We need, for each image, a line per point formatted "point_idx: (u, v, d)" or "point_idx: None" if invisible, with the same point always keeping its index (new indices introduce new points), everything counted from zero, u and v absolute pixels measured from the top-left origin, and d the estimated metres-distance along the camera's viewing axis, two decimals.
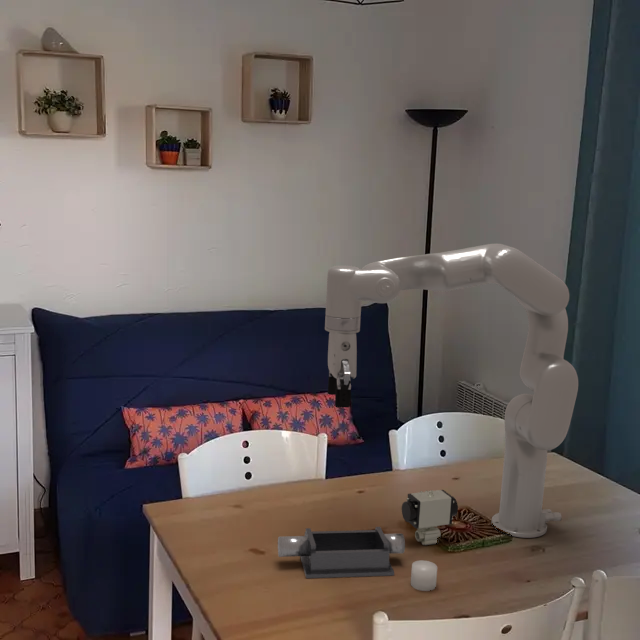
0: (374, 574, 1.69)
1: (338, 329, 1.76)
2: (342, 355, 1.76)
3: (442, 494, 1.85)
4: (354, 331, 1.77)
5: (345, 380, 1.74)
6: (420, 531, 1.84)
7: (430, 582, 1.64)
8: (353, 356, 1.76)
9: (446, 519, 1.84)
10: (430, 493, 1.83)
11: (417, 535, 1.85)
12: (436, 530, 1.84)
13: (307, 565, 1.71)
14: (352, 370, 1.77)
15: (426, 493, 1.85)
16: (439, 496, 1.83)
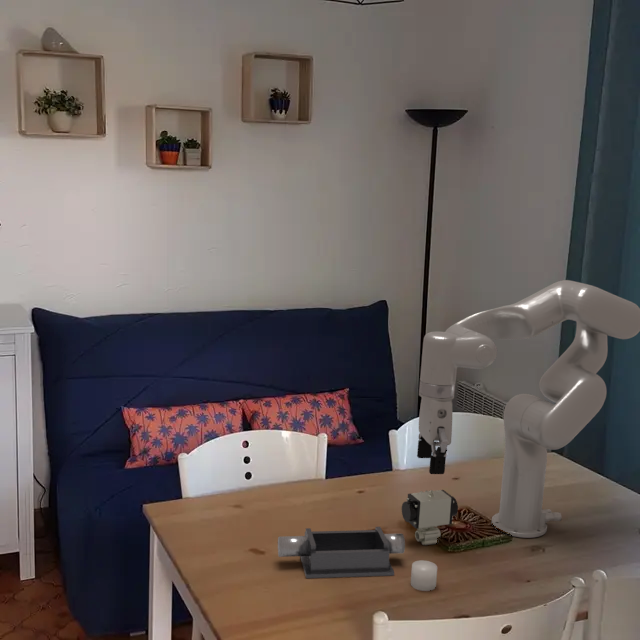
0: (374, 574, 1.69)
1: (434, 396, 1.76)
2: (438, 422, 1.76)
3: (442, 494, 1.85)
4: (450, 398, 1.77)
5: (442, 448, 1.74)
6: (420, 531, 1.84)
7: (430, 582, 1.64)
8: (449, 423, 1.76)
9: (446, 519, 1.84)
10: (430, 493, 1.83)
11: (417, 535, 1.85)
12: (436, 530, 1.84)
13: (307, 565, 1.71)
14: (447, 437, 1.77)
15: (426, 493, 1.85)
16: (439, 496, 1.83)
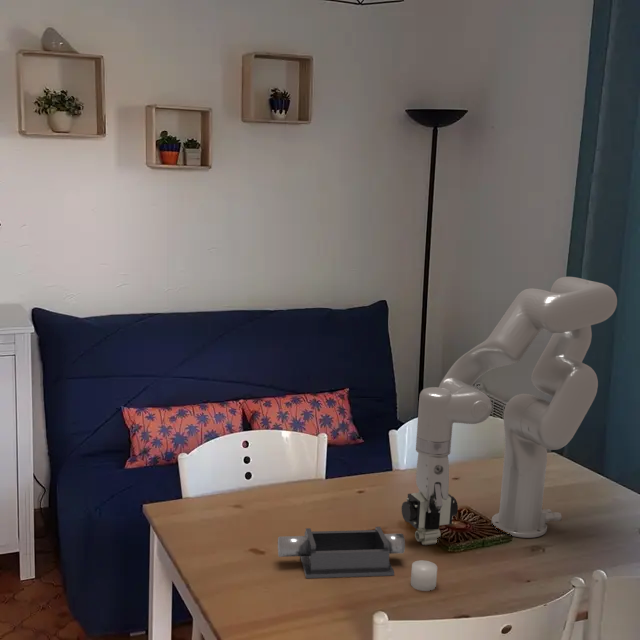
0: (374, 574, 1.69)
1: (431, 452, 1.78)
2: (435, 478, 1.78)
3: None
4: (446, 454, 1.79)
5: (436, 508, 1.78)
6: (420, 531, 1.84)
7: (430, 582, 1.64)
8: (446, 479, 1.79)
9: (446, 519, 1.84)
10: None
11: (417, 535, 1.85)
12: (436, 530, 1.84)
13: (307, 565, 1.71)
14: (444, 492, 1.79)
15: None
16: None
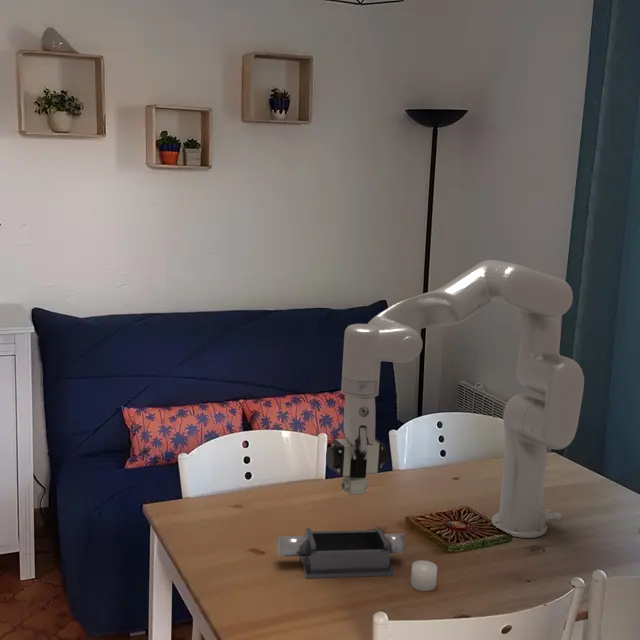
0: (374, 574, 1.69)
1: (356, 393, 1.64)
2: (360, 421, 1.64)
3: None
4: (373, 395, 1.65)
5: (361, 453, 1.64)
6: (346, 480, 1.70)
7: (430, 582, 1.64)
8: (372, 422, 1.65)
9: (374, 467, 1.70)
10: None
11: (343, 485, 1.71)
12: (363, 479, 1.70)
13: (307, 565, 1.71)
14: (370, 437, 1.65)
15: None
16: None
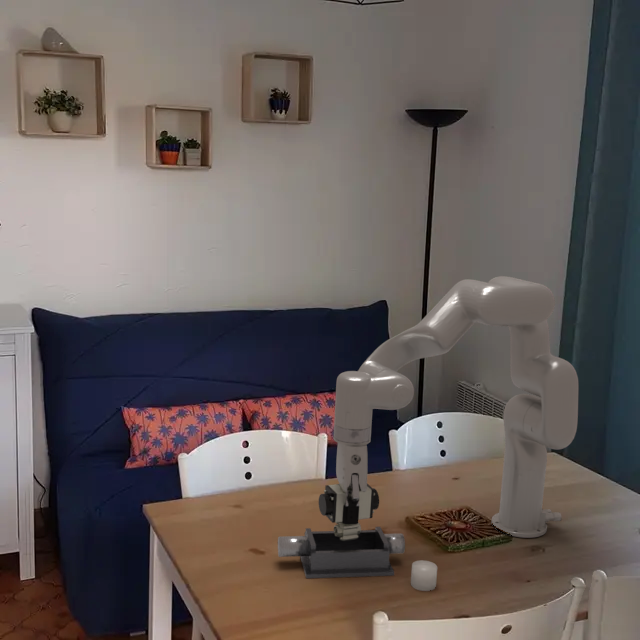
0: (374, 574, 1.69)
1: (348, 441, 1.65)
2: (352, 469, 1.65)
3: None
4: (365, 442, 1.67)
5: (353, 500, 1.65)
6: (338, 526, 1.71)
7: (430, 582, 1.64)
8: (364, 470, 1.66)
9: (366, 513, 1.71)
10: None
11: (336, 530, 1.72)
12: (356, 525, 1.71)
13: (307, 565, 1.71)
14: (363, 484, 1.66)
15: None
16: None
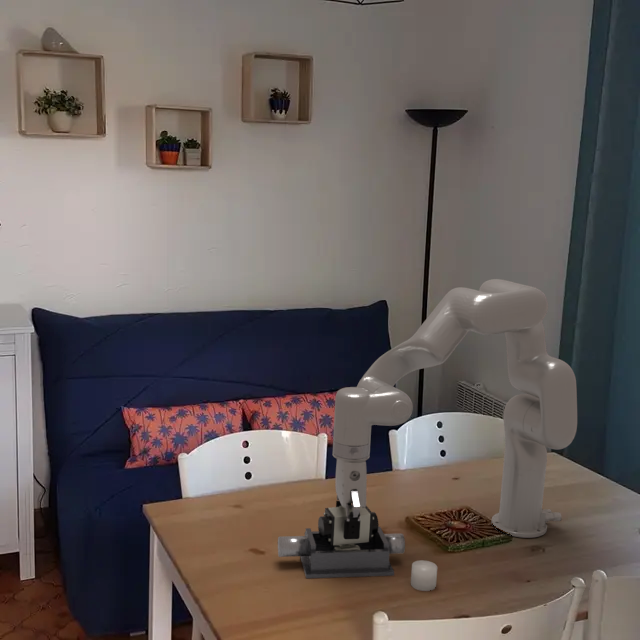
0: (374, 574, 1.69)
1: (347, 457, 1.66)
2: (351, 485, 1.66)
3: (362, 510, 1.72)
4: (364, 458, 1.67)
5: (354, 514, 1.64)
6: (338, 548, 1.72)
7: (430, 582, 1.64)
8: (363, 486, 1.66)
9: (365, 537, 1.71)
10: None
11: None
12: (354, 548, 1.72)
13: (307, 565, 1.71)
14: (362, 500, 1.67)
15: None
16: None
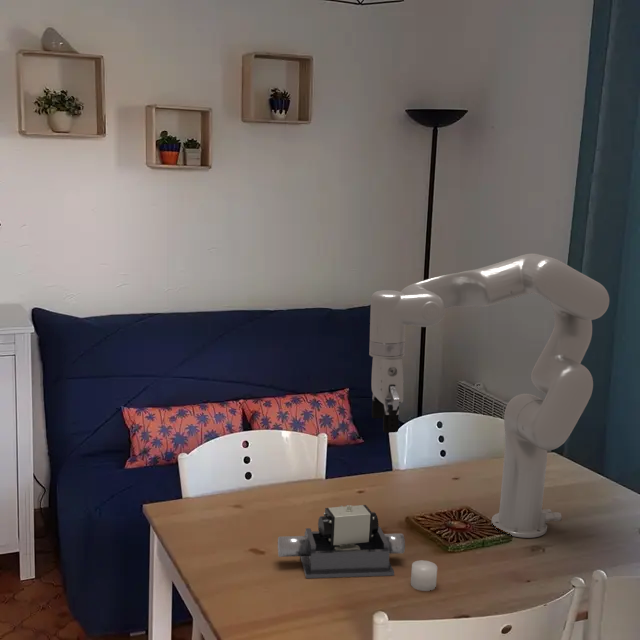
0: (374, 574, 1.69)
1: (384, 355, 1.76)
2: (389, 381, 1.76)
3: (362, 510, 1.72)
4: (400, 356, 1.77)
5: (394, 406, 1.74)
6: (338, 548, 1.73)
7: (430, 582, 1.64)
8: (400, 381, 1.76)
9: (365, 537, 1.71)
10: (348, 508, 1.71)
11: None
12: (354, 548, 1.72)
13: (307, 565, 1.71)
14: (399, 395, 1.77)
15: (345, 508, 1.73)
16: (357, 512, 1.71)
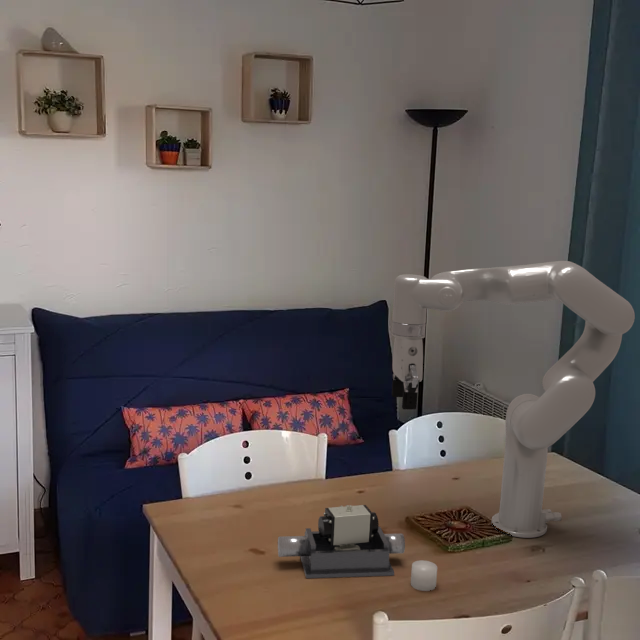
0: (374, 574, 1.69)
1: (405, 335, 1.85)
2: (409, 360, 1.85)
3: (362, 510, 1.72)
4: (420, 337, 1.86)
5: (413, 383, 1.83)
6: (338, 548, 1.73)
7: (430, 582, 1.64)
8: (420, 361, 1.85)
9: (365, 537, 1.71)
10: (348, 508, 1.71)
11: None
12: (354, 548, 1.72)
13: (307, 565, 1.71)
14: (419, 374, 1.86)
15: (345, 508, 1.73)
16: (357, 512, 1.71)
